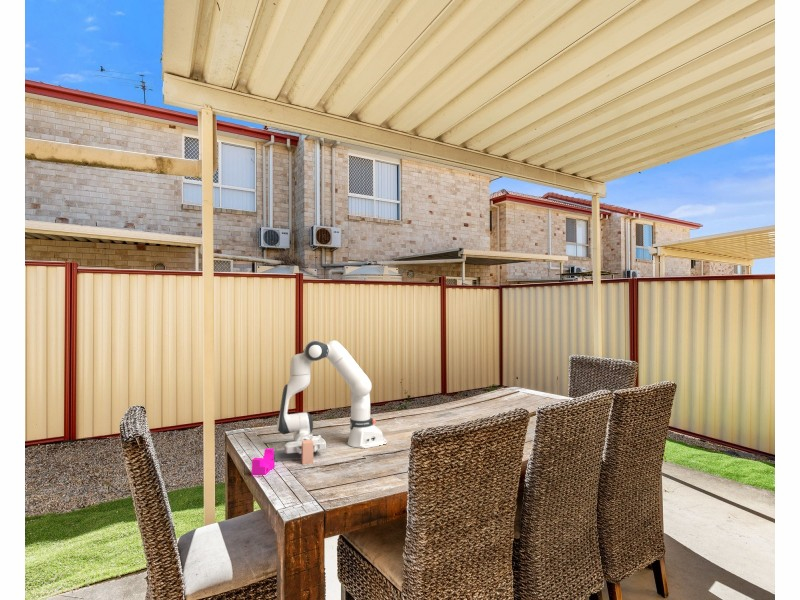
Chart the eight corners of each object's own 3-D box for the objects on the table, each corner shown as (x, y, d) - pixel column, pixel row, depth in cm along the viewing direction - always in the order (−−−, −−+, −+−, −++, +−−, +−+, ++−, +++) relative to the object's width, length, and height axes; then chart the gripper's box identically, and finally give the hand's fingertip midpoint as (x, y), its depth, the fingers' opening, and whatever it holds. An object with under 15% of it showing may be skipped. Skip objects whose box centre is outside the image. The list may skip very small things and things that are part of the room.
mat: (300, 449, 213) (300, 447, 213) (303, 458, 200) (303, 457, 200) (273, 452, 208) (273, 450, 208) (275, 462, 195) (275, 460, 195)
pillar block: (311, 459, 199) (311, 439, 199) (313, 463, 194) (313, 442, 194) (301, 460, 197) (301, 440, 197) (302, 464, 192) (303, 443, 192)
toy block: (264, 477, 178) (265, 460, 178) (251, 476, 178) (252, 459, 178) (278, 464, 192) (278, 448, 193) (266, 463, 193) (266, 448, 193)
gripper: (283, 438, 204) (286, 447, 191) (323, 434, 211) (328, 442, 198) (283, 450, 204) (285, 460, 191) (323, 446, 211) (327, 455, 198)
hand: (307, 451), depth 195 cm, fingers closed on pillar block, 5 cm apart
